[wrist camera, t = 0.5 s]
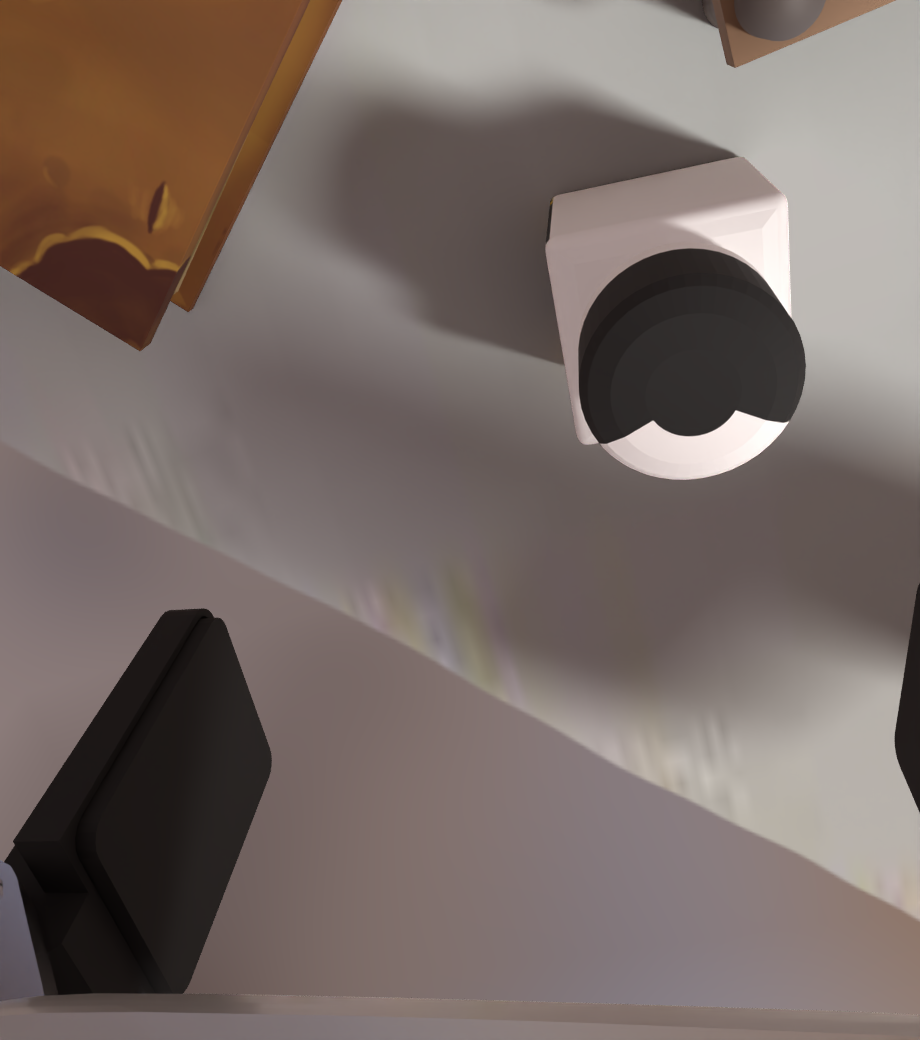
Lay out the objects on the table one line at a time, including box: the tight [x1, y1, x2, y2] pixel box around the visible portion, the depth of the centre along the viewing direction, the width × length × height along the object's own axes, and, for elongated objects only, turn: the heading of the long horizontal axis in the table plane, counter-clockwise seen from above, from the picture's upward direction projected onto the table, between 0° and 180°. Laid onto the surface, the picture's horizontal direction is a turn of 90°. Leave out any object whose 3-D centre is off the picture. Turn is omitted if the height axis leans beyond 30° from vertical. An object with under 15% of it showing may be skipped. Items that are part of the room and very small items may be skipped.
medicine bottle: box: [545, 157, 806, 480], centre depth 28 cm, size 7×7×12 cm
